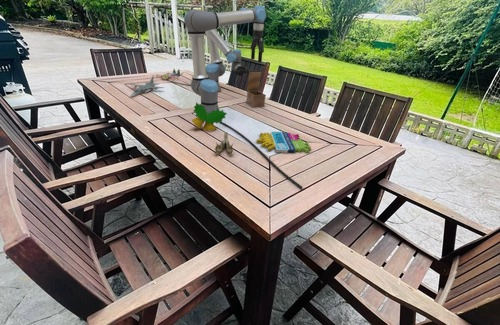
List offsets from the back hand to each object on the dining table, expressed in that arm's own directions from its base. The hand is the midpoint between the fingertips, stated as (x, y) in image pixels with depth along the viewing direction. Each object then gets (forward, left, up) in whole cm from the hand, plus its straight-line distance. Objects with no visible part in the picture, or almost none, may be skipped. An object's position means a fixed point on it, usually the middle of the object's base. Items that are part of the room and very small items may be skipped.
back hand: (249, 74), depth 220 cm
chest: (+16, -7, -21) cm, 27 cm away
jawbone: (+62, -85, -21) cm, 107 cm away
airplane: (-68, -59, -21) cm, 92 cm away
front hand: (+11, -5, +13) cm, 18 cm away
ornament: (+33, -71, -21) cm, 80 cm away
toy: (-105, -9, -21) cm, 108 cm away
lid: (+11, -5, -3) cm, 13 cm away
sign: (+76, -52, -21) cm, 94 cm away
